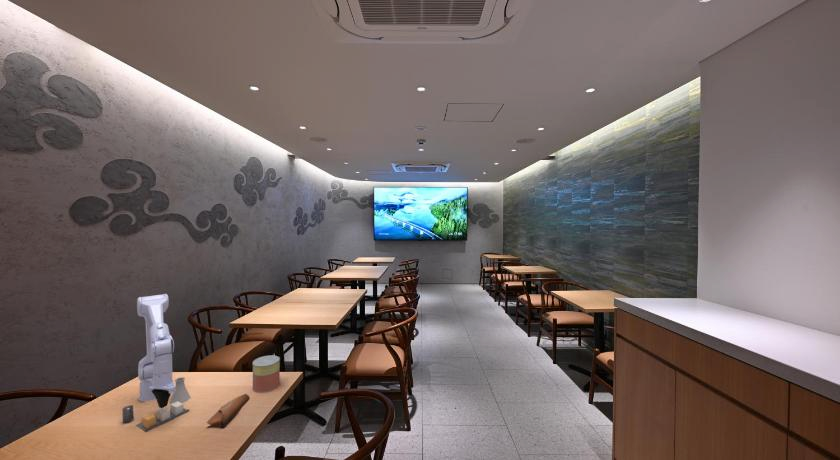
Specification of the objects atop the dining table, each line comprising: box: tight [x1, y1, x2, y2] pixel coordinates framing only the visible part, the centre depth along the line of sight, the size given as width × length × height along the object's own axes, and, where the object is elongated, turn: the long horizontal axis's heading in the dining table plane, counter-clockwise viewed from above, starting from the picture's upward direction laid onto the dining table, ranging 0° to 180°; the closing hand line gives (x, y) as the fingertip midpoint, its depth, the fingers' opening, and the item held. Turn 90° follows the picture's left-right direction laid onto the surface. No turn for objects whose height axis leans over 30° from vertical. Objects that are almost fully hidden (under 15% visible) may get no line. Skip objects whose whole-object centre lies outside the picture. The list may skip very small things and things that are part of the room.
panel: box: [135, 407, 190, 433], centre depth 121 cm, size 8×14×2 cm, turn 153°
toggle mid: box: [156, 407, 170, 421], centre depth 121 cm, size 4×2×3 cm, turn 63°
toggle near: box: [169, 401, 184, 415], centre depth 125 cm, size 4×2×3 cm, turn 63°
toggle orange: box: [141, 413, 157, 428], centre depth 117 cm, size 4×2×3 cm, turn 63°
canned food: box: [252, 354, 281, 394], centre depth 146 cm, size 11×11×12 cm
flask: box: [168, 376, 191, 404], centre depth 133 cm, size 7×7×10 cm
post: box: [121, 404, 135, 424], centre depth 119 cm, size 4×4×6 cm
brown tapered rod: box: [206, 393, 250, 429], centre depth 125 cm, size 18×7×7 cm
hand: (163, 406), depth 120 cm, fingers closed
